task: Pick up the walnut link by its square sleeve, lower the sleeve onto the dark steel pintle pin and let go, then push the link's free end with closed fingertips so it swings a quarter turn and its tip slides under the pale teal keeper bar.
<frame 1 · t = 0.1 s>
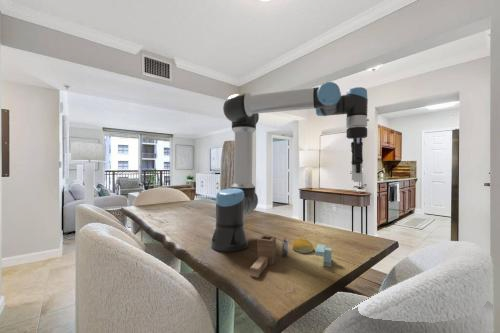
hand: (356, 181, 89), 28 cm above the table, fingers open, 13 cm apart
keeper: (323, 255, 79), on the table
link: (254, 276, 68), on the table
bread roll: (302, 250, 91), on the table
pintle: (284, 255, 84), on the table
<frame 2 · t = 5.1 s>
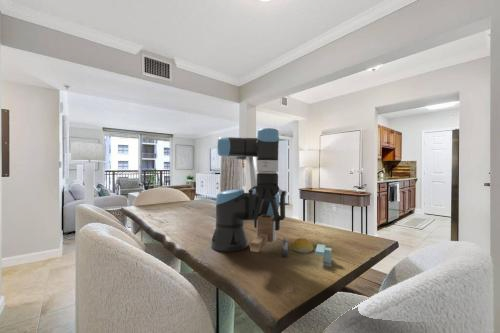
hand: (266, 238, 80), 8 cm above the table, fingers closed on link, 5 cm apart
link: (254, 250, 68), point 7 cm above the table, touching gripper
everything else where it was.
when the fingers open (1 cm above the table, at t = 8.6 s): link moves 1 cm, on the table.
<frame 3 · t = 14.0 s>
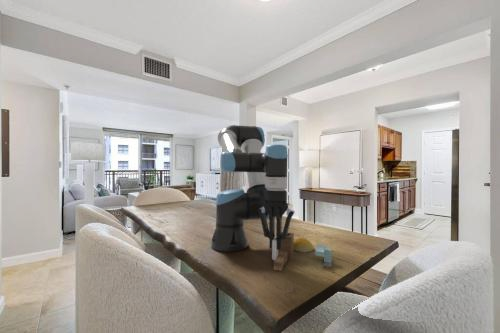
hand: (275, 258, 77), 2 cm above the table, fingers closed
link: (277, 269, 72), on the table, touching gripper
everything else where it was.
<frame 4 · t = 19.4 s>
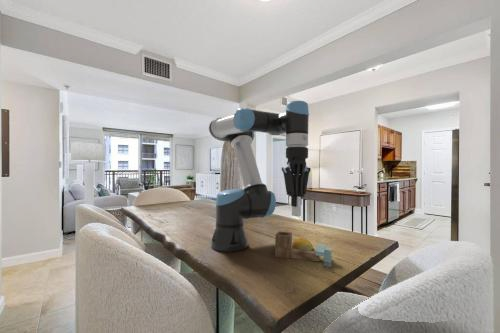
hand: (296, 215, 77), 16 cm above the table, fingers closed
link: (317, 259, 80), on the table
at the end: link inside the target area (1.1 cm from its centre), on the table; link 11.7 cm from the pintle (horizontally); link on the table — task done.
